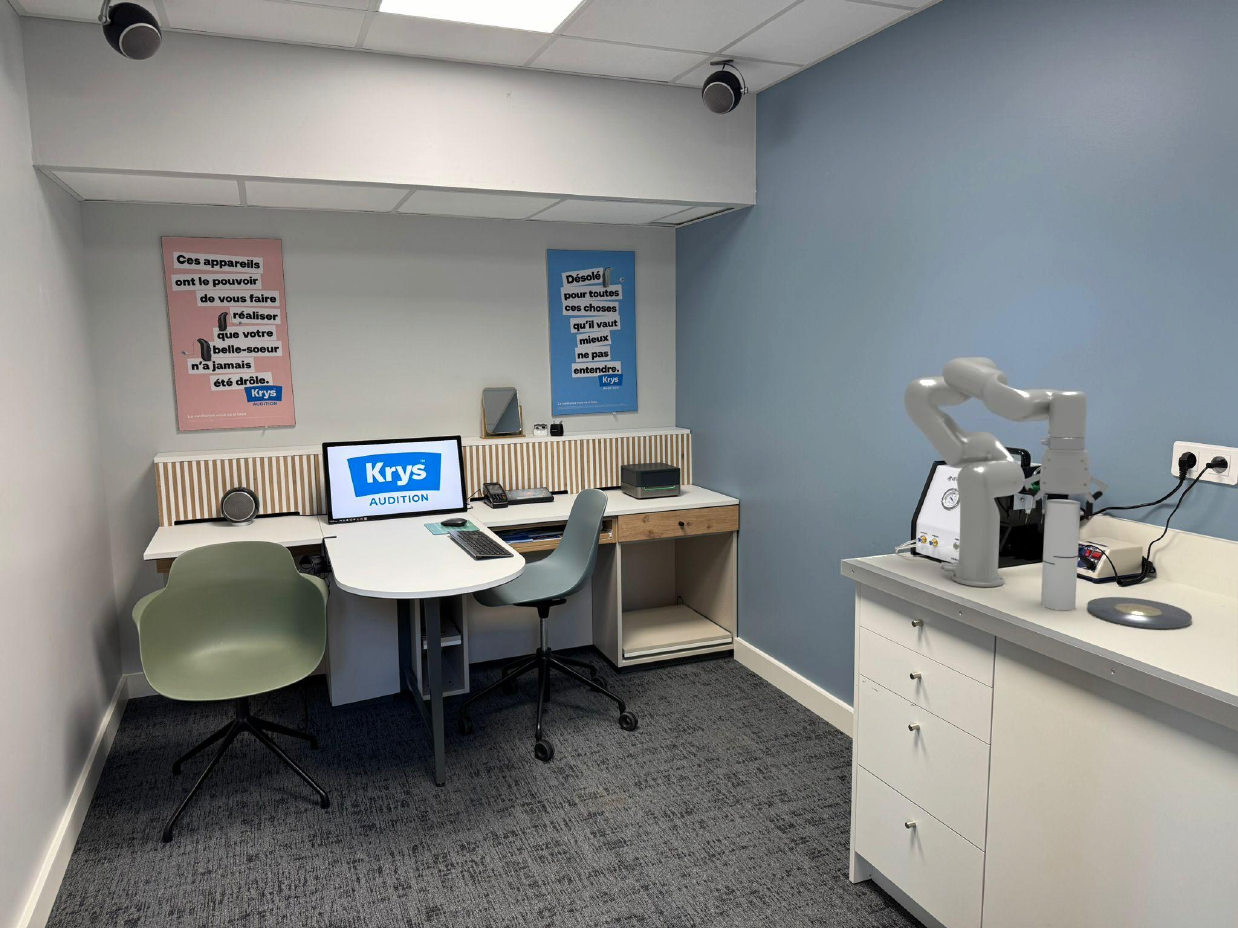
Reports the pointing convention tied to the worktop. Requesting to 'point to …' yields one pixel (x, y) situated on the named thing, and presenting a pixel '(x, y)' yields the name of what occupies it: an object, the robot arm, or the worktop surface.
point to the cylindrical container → (1060, 554)
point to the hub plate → (1139, 613)
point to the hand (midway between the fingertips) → (1063, 517)
